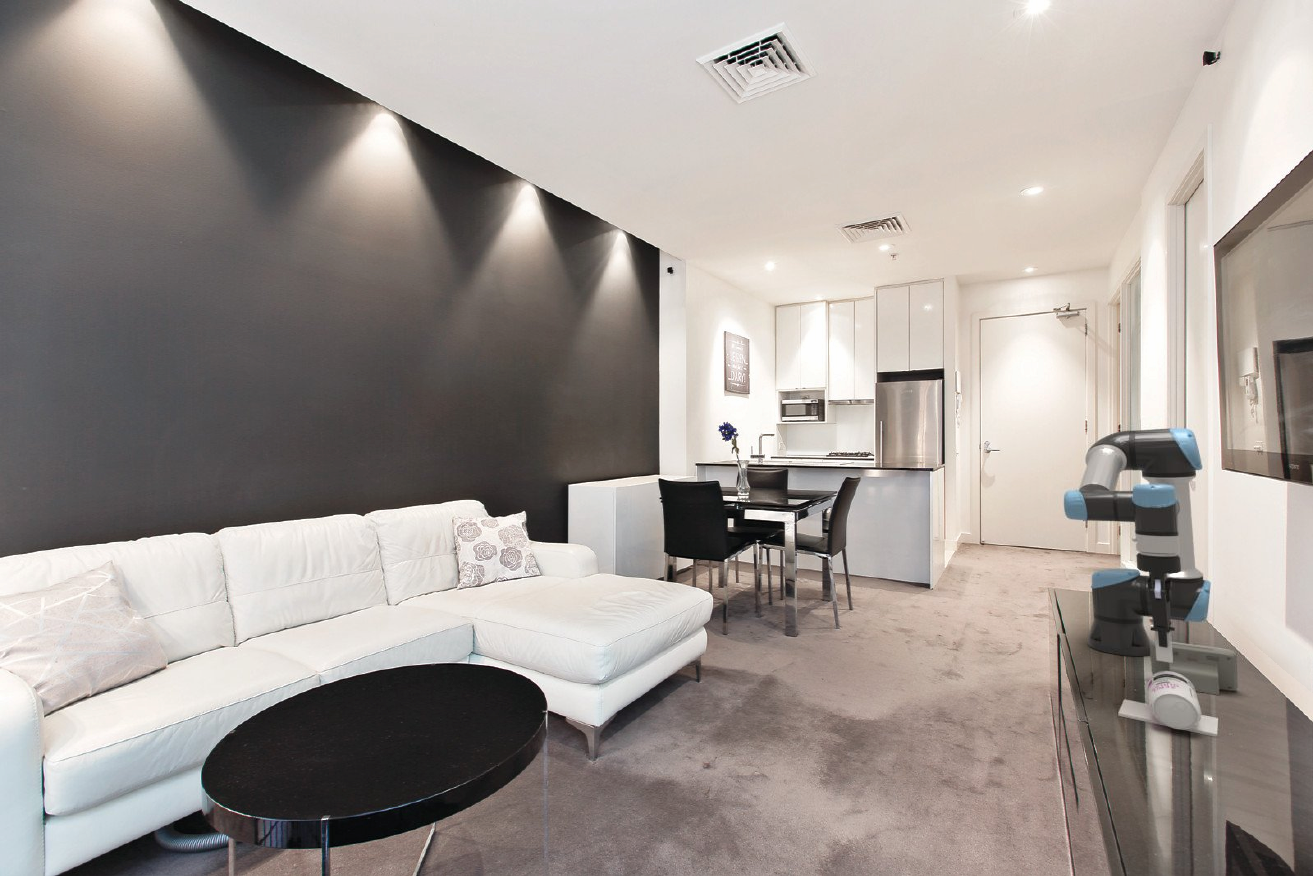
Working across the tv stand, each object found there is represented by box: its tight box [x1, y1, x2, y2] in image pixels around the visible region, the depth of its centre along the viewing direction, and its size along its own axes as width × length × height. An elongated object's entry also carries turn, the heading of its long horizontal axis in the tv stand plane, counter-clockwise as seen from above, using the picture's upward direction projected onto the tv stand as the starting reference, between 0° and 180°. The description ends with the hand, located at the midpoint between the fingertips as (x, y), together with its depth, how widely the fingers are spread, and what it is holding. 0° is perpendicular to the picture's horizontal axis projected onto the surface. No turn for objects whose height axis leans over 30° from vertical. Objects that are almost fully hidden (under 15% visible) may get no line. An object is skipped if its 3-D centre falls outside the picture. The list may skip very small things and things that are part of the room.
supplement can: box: [1147, 671, 1202, 731], centre depth 129 cm, size 8×8×15 cm
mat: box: [1117, 698, 1219, 738], centre depth 130 cm, size 10×16×1 cm, turn 46°
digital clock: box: [1150, 639, 1239, 696], centre depth 147 cm, size 16×9×11 cm, turn 38°
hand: (1164, 660), depth 132 cm, fingers closed
